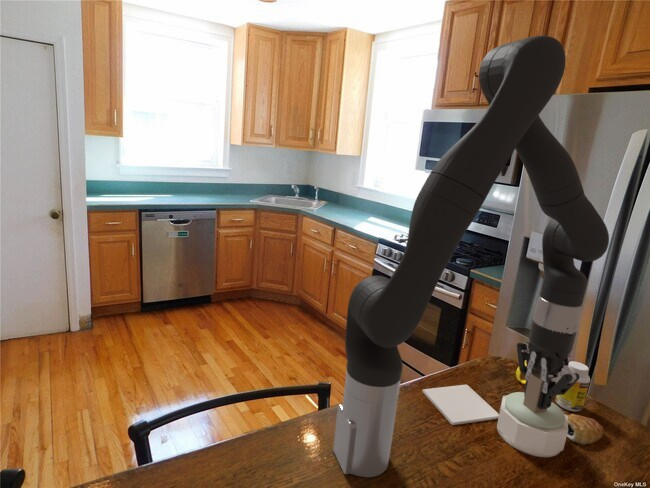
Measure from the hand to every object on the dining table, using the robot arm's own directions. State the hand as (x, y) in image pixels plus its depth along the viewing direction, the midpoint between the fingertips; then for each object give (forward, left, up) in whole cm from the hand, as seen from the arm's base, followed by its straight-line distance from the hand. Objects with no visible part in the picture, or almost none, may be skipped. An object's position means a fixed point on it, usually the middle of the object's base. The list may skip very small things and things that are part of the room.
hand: (536, 402), depth 85 cm
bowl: (0, 0, -8) cm, 8 cm away
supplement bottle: (+18, +7, -8) cm, 21 cm away
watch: (+15, +17, -8) cm, 24 cm away
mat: (-8, +12, -8) cm, 16 cm away
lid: (0, 0, -2) cm, 2 cm away
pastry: (+12, -1, -8) cm, 14 cm away
